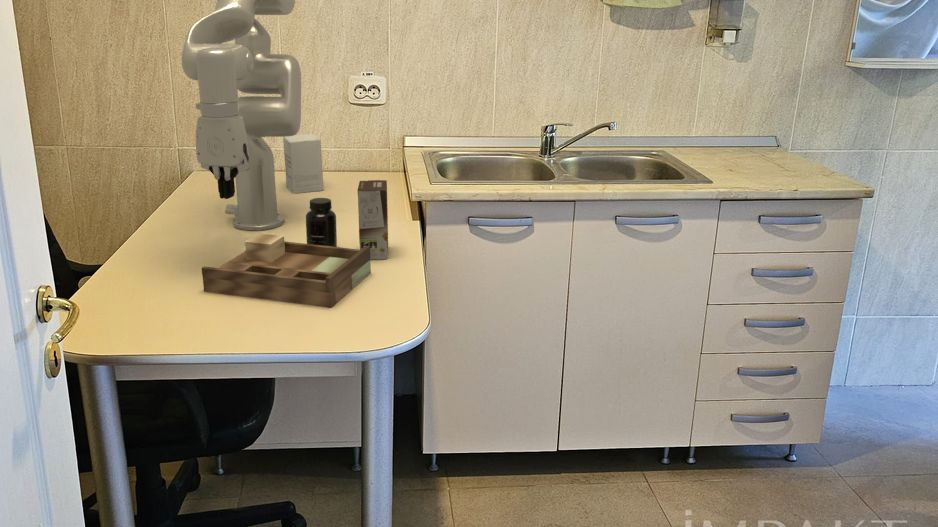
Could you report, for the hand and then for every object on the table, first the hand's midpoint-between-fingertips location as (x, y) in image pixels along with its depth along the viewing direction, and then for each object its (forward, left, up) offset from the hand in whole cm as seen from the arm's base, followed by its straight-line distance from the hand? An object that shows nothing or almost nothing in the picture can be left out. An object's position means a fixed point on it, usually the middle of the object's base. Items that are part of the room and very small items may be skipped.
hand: (227, 197), depth 183 cm
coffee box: (+26, +17, -16) cm, 35 cm away
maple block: (+8, 0, -13) cm, 15 cm away
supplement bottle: (+14, +15, -16) cm, 26 cm away
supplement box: (-14, +63, -16) cm, 67 cm away
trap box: (+16, -5, -16) cm, 23 cm away
